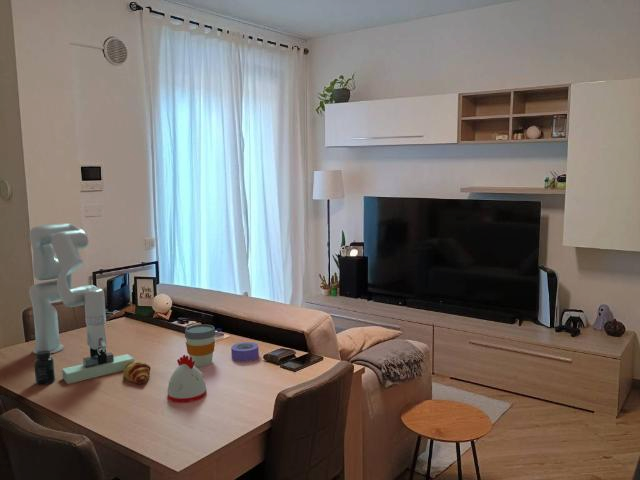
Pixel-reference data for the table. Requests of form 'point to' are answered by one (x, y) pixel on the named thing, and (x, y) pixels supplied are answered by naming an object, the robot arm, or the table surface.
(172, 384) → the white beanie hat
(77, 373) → the rail
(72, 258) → the robot arm
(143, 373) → the croissant
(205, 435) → the table surface
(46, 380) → the supplement bottle
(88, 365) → the clip
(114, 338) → the table surface
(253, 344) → the tape roll
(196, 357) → the reusable coffee cup
